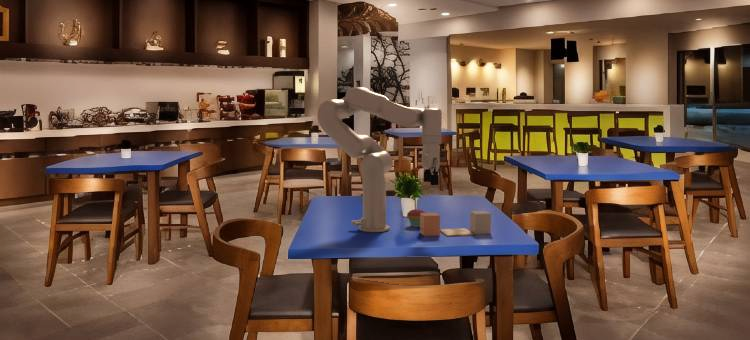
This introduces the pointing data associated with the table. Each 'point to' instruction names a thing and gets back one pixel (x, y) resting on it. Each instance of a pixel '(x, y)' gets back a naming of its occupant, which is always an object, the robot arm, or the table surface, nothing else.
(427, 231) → the peach colored cube
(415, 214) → the cupcake
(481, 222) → the beige block
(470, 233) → the birch board
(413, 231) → the table surface
